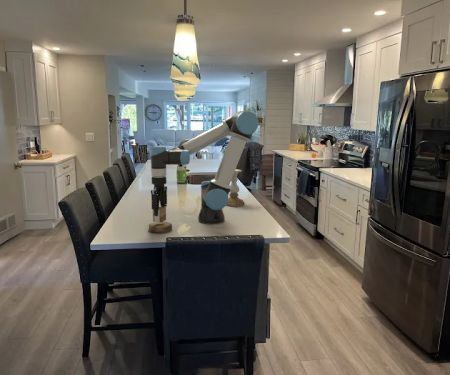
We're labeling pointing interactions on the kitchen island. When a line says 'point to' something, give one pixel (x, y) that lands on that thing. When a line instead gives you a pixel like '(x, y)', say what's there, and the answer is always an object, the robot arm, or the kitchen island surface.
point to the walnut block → (161, 214)
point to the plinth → (160, 227)
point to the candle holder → (234, 192)
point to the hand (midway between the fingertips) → (159, 220)
